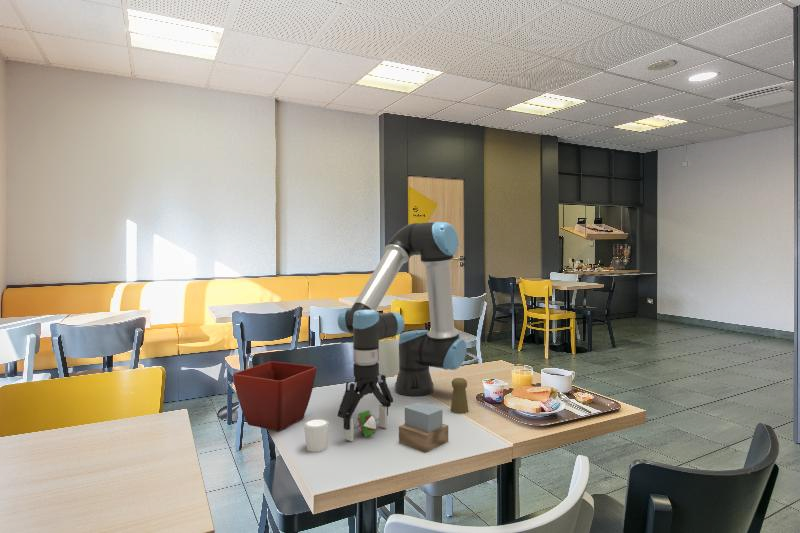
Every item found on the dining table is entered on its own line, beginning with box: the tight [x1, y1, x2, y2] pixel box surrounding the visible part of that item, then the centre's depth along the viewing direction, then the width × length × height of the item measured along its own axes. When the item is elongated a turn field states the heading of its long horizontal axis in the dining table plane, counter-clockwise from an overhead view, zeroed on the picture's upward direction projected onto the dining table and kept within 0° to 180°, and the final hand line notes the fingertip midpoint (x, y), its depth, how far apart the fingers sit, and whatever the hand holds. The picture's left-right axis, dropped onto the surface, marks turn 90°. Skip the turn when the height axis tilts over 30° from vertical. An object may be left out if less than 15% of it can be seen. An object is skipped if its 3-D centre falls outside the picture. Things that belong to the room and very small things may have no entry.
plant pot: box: [232, 361, 317, 432], centre depth 153 cm, size 19×19×17 cm
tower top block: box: [404, 402, 443, 433], centre depth 137 cm, size 6×9×5 cm, turn 46°
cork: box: [450, 377, 469, 415], centre depth 163 cm, size 6×6×11 cm
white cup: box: [303, 418, 330, 453], centre depth 134 cm, size 7×7×7 cm
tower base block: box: [398, 423, 449, 453], centre depth 137 cm, size 10×10×5 cm
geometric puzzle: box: [353, 410, 380, 438], centre depth 143 cm, size 7×7×8 cm
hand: (366, 433), depth 143 cm, fingers open, 13 cm apart
